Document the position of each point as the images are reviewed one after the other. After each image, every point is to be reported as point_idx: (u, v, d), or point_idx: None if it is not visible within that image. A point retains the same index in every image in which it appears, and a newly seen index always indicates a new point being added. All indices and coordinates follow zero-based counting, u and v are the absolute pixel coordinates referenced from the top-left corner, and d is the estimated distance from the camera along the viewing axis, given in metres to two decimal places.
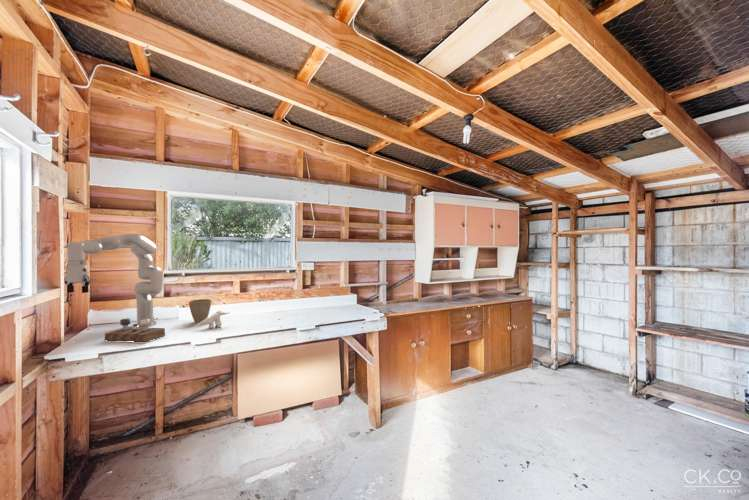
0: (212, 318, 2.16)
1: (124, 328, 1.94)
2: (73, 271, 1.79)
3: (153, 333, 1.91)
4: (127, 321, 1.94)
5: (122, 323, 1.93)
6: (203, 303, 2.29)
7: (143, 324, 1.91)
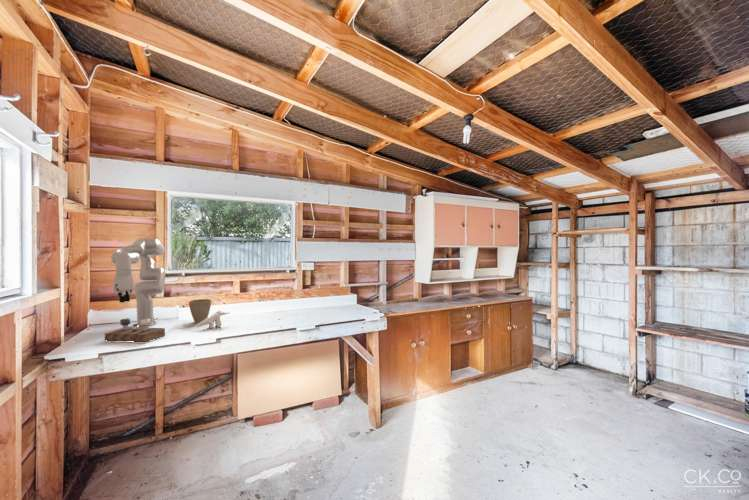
0: (212, 318, 2.16)
1: (124, 328, 1.94)
2: (128, 279, 1.95)
3: (153, 333, 1.91)
4: (127, 321, 1.94)
5: (122, 323, 1.93)
6: (203, 303, 2.29)
7: (143, 324, 1.91)
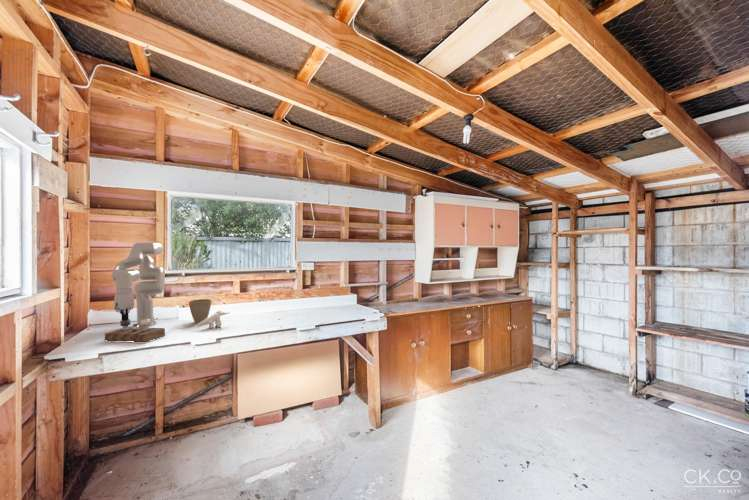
0: (212, 318, 2.16)
1: (124, 329, 1.94)
2: (128, 297, 1.95)
3: (153, 333, 1.91)
4: (127, 322, 1.94)
5: (122, 324, 1.93)
6: (203, 303, 2.29)
7: (143, 324, 1.91)
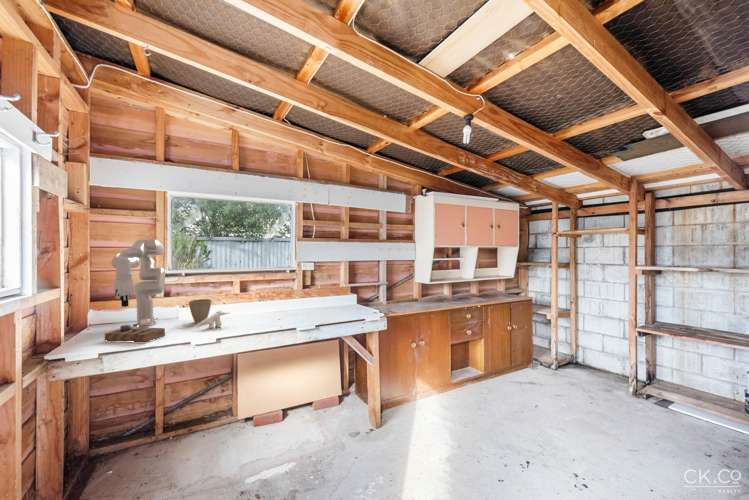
0: (212, 318, 2.16)
1: None
2: (128, 284, 1.95)
3: (153, 333, 1.91)
4: (127, 327, 1.94)
5: (122, 329, 1.93)
6: (203, 303, 2.29)
7: (143, 324, 1.91)
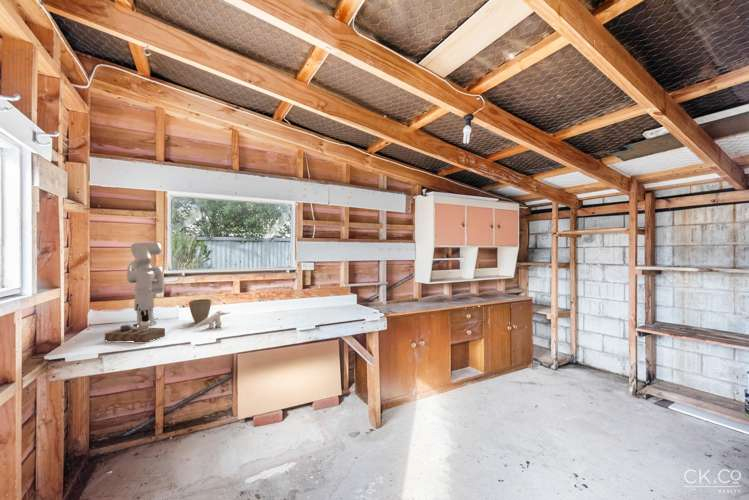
0: (212, 318, 2.16)
1: None
2: (149, 298, 1.93)
3: (153, 333, 1.91)
4: (127, 327, 1.94)
5: (122, 329, 1.93)
6: (203, 303, 2.29)
7: (143, 326, 1.91)
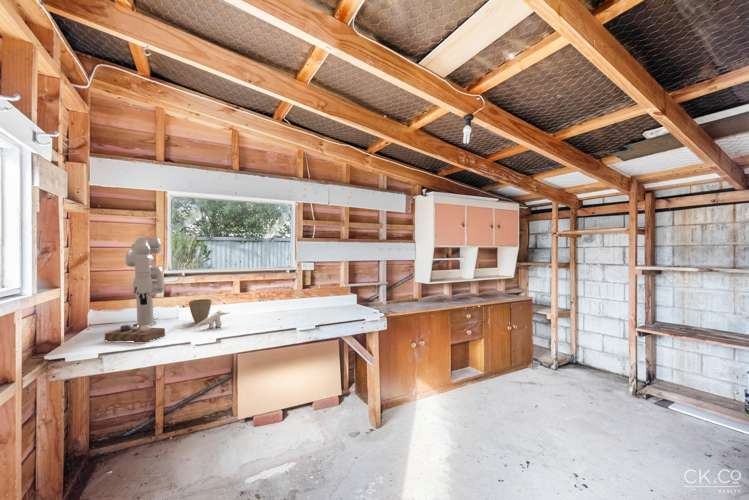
0: (212, 318, 2.16)
1: None
2: (147, 282, 1.94)
3: (153, 333, 1.91)
4: (127, 327, 1.94)
5: (122, 329, 1.93)
6: (203, 303, 2.29)
7: (143, 330, 1.91)
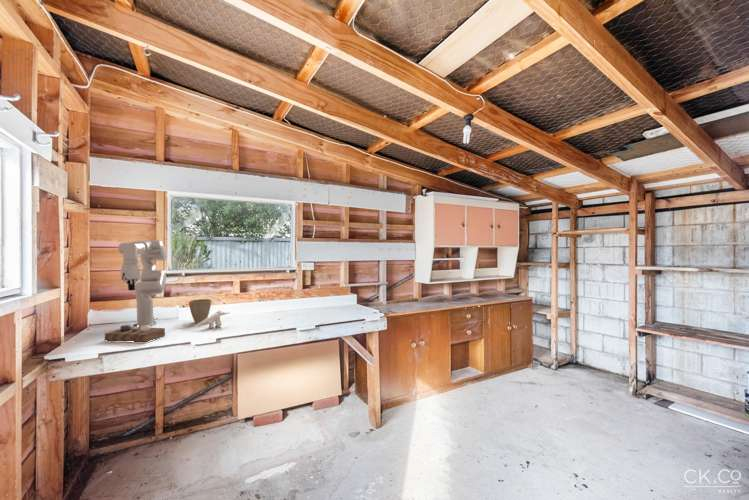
0: (212, 318, 2.16)
1: None
2: (135, 268, 2.03)
3: (153, 333, 1.91)
4: (127, 327, 1.94)
5: (122, 329, 1.93)
6: (203, 303, 2.29)
7: (143, 330, 1.91)
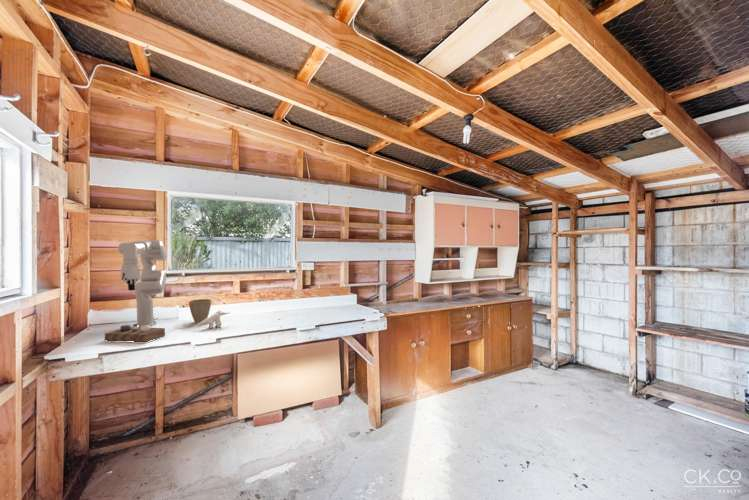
0: (212, 318, 2.16)
1: None
2: (135, 268, 2.03)
3: (153, 333, 1.91)
4: (127, 327, 1.94)
5: (122, 329, 1.93)
6: (203, 303, 2.29)
7: (143, 330, 1.91)
